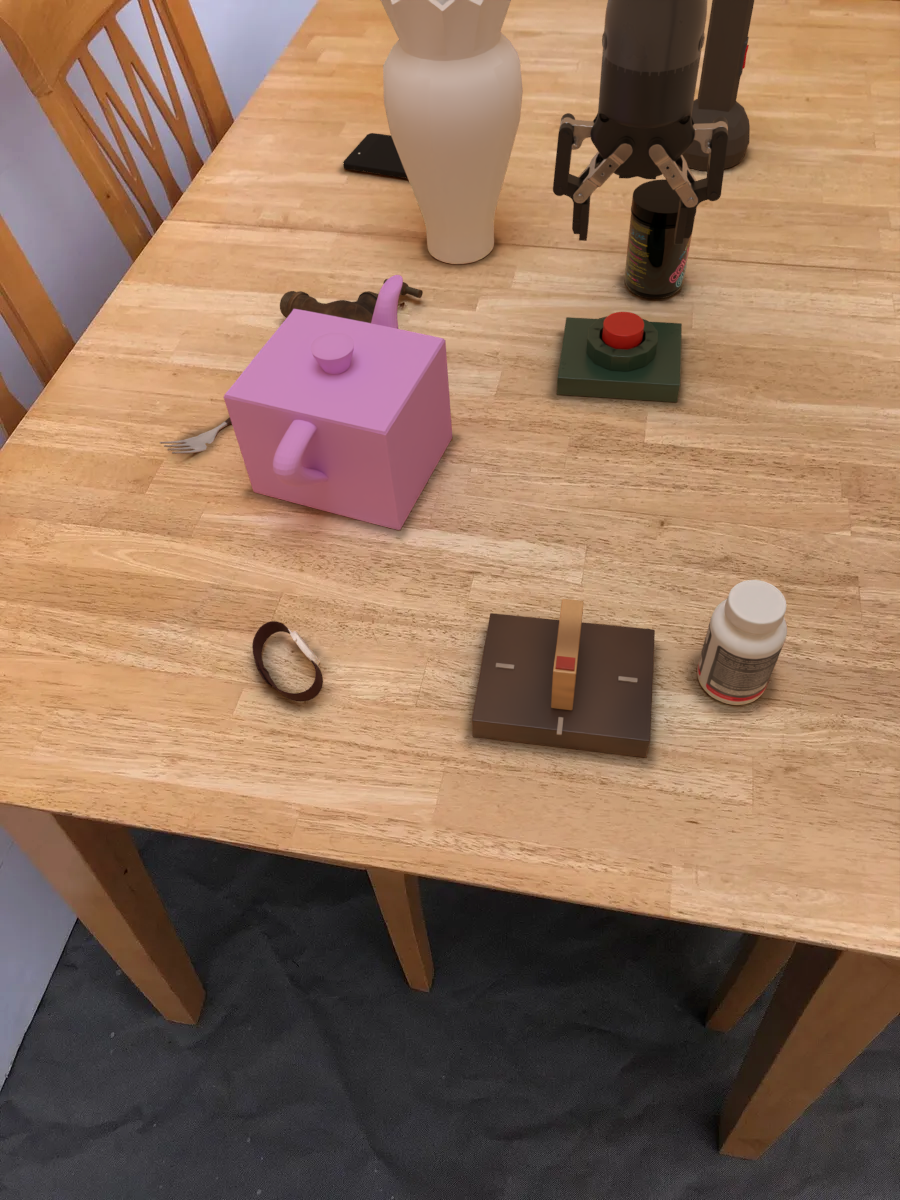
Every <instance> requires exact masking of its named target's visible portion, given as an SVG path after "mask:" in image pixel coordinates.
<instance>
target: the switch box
mask: <svg viewBox="0 0 900 1200" xmlns="http://www.w3.org/2000/svg"><path fill="white" fill-rule="evenodd" d="M607 316H608V315H607ZM607 316H603V317H599V318H591V317H590V318H589V317H572V316H571V317H570V316H566V318H565V323H564V329H563V330H564V331H563V337H562V342H561V350H560V351H561V352H560V356H559V363H558V370H557V376H556V395H557V396H558V395H560V396H575V397H587V398H589V397H590V398H604V399H618V400H619V399H621V400H634V401H635V400H636V401H648V402H649V401H650V402H651V401H652V402H665V403H667V402H668V403H678V401H679V400H678V399H679V394H680V389H681V369H682V367H681V365H682V337H683V335H682V331H683V329H682V328H683V325H682V324H683V323H682V322H667V321H666V322H664V321H663V322H662V321H649V320H647V319H645V318H642V320H643V321H644V331H643V339H642V342H641V343H640V344H639V345H638V346H637V347H635V348H631V349H628V350H626V349H614V348H612V347H610V346H607V345H606V344H605V343H604V341H603V339H602V333H603V323H604V320H605V318H606V317H607Z"/></svg>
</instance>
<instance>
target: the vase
mask: <svg viewBox="0 0 900 1200" xmlns="http://www.w3.org/2000/svg"><path fill="white" fill-rule="evenodd" d="M380 2H381V5H382V7H383V9H384V11H385V13H386V15H387V18H388V19H389V21H390V23H391V25H392V28H393V30H394V33H395V34H396V36H397V38H398V39H397V41H396V42H395V43H394V44H393V45H392V47H391V49H390V51H389V53H388V54H387V57H386V59H384V63H383V65H382V69H383V70H382V75H383V76H382V78H383V79H382V81H383V82H382V83H383V84H382V85H383V86H382V87H383V88H382V89H383V105H384V110H385V115H386V121H387V126H388V130H389V135H391V137H392V139H393V142H394V144H395V147H396V149H397V152H398V154H399V157H400V160H401V162H402V165H403V167H404V170H405V172H406V175H407V177H408V179H407V180H408V182H409V186H410V188H411V190H412V193H413V195H414V198H415V200H416V203H417V206H418V208H419V210H420V213H421V215H422V218H423V222H424V225H425V232H426V245H427V251H428V253H429V255H430V256H432V257H433V258H434V259H436V260H438V261H440V262H442V263H446V264H451V265H465V264H466V265H467V264H472V263H475V262H478V261H480V260H482V259H483V258H485V257H486V256H488V255H489V254H490V253H491V252H492V251H493V249H494V245H495V215H496V210H497V207H498V203H499V200H500V196H501V193H502V189H503V184H504V181H505V177H506V173H507V170H508V166H509V164H510V163H509V162H510V159H511V156H512V152H513V147H514V144H515V141H516V137H517V133H518V129H519V126H520V122H521V114H522V102H523V94H524V89H523V88H524V87H523V77H522V66H521V58H520V55H519V52H518V50H517V49H516V47H515V46H514V45H513V43H512V41H511V39H509V38H508V37H507V36H506V35H505V34H503V33H502V32H501V31H502V28H503V25H504V22H505V20H506V17H507V14H508V11H509V7H510V5H511V2H512V0H380Z"/></svg>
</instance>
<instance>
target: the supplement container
mask: <svg viewBox="0 0 900 1200" xmlns="http://www.w3.org/2000/svg"><path fill="white" fill-rule="evenodd" d="M679 202H680V197H679V195H678V194H677V192H676V191H675V190H673V189H672V188H671V186H670V185H669V183H668V182H667V180H666V178H664V179H663V178H662V179H652V180H649V181H646V182H643V183H641V184H639V185H638V186H637V187H636V188H635V189H634V190H633V192H632V198H631V206H630V219H629V229H628V238H627V247H626V256H625V257H626V258H625V266H624V267H625V268H624V275H623V276H624V277H623V279H624V283H625V286H626V288H627V289H628V290H629V291H630V292H631V293H632V294H633V295H636V296H637V297H640V298H643V299H648V300H662V299H667V298H670V297H672V296H674V295H675V294H677V293H678V292H679V291H680V290H681V289H682V287H683V285H684V284H685V278H686V272H687V266H688V261H689V255H690V254H689V253H690V248H691V243H692V235H693V233H692V234H691V236H690V238H683V244H682V245H680V244H674V243H675V228H676V222H677V215H678V209H679ZM696 215H697V212H696V213H695V216H696Z"/></svg>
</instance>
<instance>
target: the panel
mask: <svg viewBox="0 0 900 1200" xmlns="http://www.w3.org/2000/svg"><path fill="white" fill-rule="evenodd" d="M559 620H560V619H553V618H552V619H551V618H543V617H541V618H540V617H532V616H522V615H515V614H514V615H513V614H503V613H493V612H490V614H489V617H488V622H487V623H488V624H487V628H486V635H485V640H484V641H485V642H484V647H483V653H482V657H481V663H480V670H479V676H478V680H477V686H476V693H475V698H474V702H473V703H474V704H473V709H472V714H471V731H472V732H471V734H472V738H480V739H488V740H497V741H504V742H505V741H506V742H513V743H522V744H528V745H529V744H531V745H539V746H548V747H555V748H562V749H563V748H564V749H570V750H571V749H573V750H581V751H589V752H596V753H604V754H614V755H621V756H631V757H639V758H647V756H648V752H649V748H650V743H651V736H652V735H651V734H652V731H651V730H652V710H653V709H652V708H653V706H652V705H653V686H654V685H653V683H654V682H653V681H654V661H655V660H654V659H655V634H656V631H655V630H656V629H651V628H643V627H642V628H641V627H632V626H623V625H613V624H603V623H602V624H601V623H595V622H594V623H591V622H584V621H582V625H581V635H580V645H579V655H578V664H577V673H576V683H575V692H574V701H573V710H564V709H555V708H551V698H552V681H553V668H554V660H555V652H556V644H557V636H558V628H559Z"/></svg>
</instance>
